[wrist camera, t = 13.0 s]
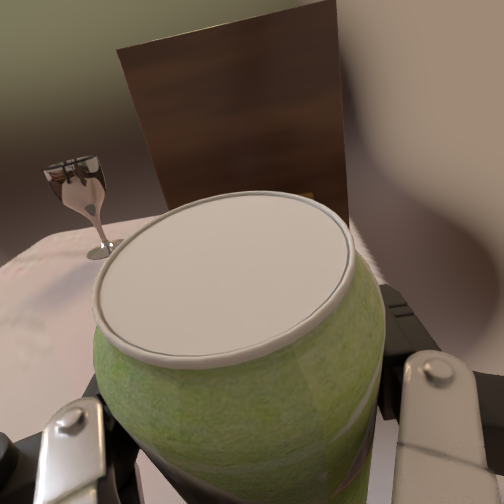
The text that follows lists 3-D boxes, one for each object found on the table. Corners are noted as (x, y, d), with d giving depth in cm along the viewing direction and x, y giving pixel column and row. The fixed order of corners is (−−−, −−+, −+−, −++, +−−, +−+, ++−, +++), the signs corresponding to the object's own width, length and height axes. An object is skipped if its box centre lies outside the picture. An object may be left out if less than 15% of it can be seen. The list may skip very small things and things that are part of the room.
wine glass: (126, 253, 53) (88, 161, 46) (78, 265, 52) (31, 174, 45) (134, 234, 60) (102, 152, 53) (91, 244, 59) (53, 163, 52)
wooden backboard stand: (401, 395, 22) (416, -83, 11) (186, 424, 23) (4, 20, 12) (335, 261, 38) (315, 18, 27) (212, 282, 39) (146, 57, 29)
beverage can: (322, 400, 16) (291, 156, 11) (435, 602, 9) (505, 236, 4) (198, 448, 15) (94, 205, 10) (230, 708, 9) (-36, 412, 3)
